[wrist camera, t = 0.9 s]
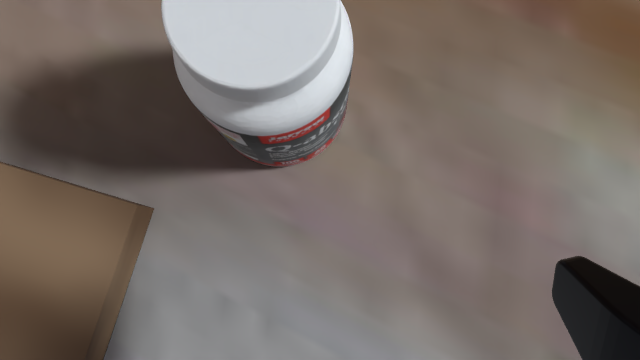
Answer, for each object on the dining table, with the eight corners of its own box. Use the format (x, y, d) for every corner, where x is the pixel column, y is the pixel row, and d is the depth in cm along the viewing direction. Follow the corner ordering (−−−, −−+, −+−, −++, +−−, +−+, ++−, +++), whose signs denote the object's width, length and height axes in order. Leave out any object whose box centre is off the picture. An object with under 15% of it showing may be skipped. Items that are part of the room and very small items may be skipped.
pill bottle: (293, 194, 23) (266, 157, 13) (192, 118, 23) (91, 25, 14) (372, 91, 23) (403, -20, 13) (271, 18, 24) (229, -141, 14)
